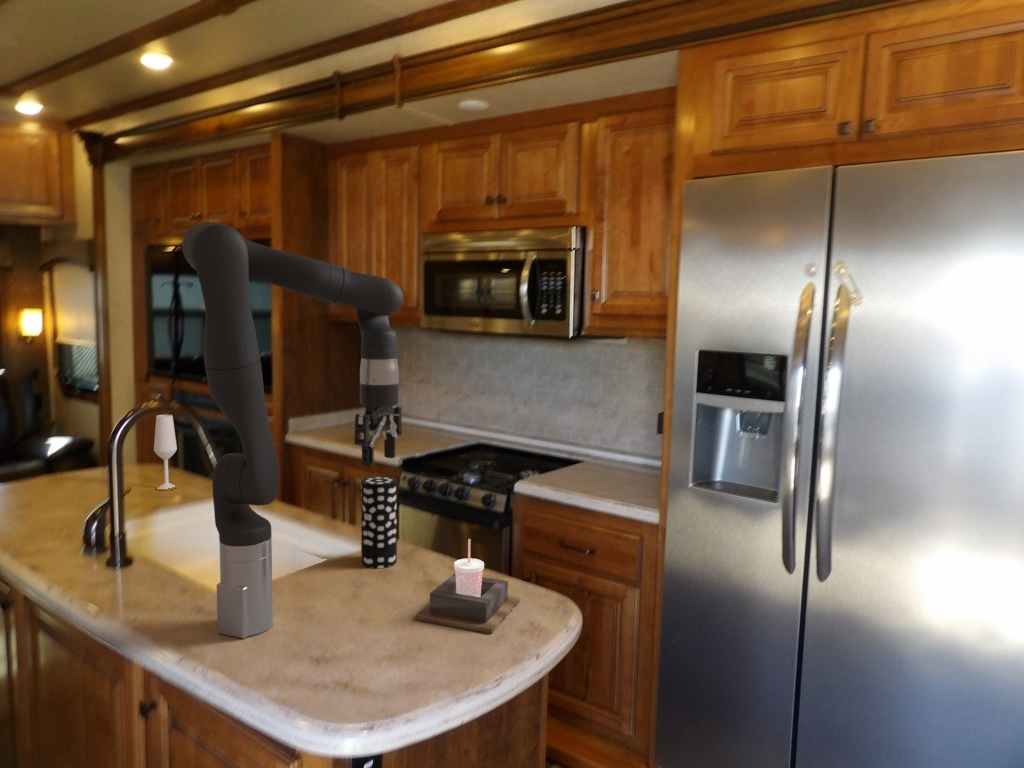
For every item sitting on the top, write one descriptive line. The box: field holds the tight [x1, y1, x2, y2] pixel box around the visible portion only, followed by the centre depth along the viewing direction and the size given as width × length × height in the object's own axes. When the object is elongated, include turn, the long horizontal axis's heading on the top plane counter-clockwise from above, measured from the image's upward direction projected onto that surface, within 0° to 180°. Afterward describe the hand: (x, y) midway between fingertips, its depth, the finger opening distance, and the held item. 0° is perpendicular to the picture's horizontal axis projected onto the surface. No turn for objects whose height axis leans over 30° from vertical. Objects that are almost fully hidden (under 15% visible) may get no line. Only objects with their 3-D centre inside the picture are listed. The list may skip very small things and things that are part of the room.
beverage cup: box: [453, 538, 485, 597], centre depth 147 cm, size 6×6×14 cm
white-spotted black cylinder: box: [360, 475, 398, 569], centre depth 173 cm, size 8×8×20 cm
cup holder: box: [415, 573, 521, 635], centre depth 147 cm, size 16×16×5 cm
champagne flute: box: [153, 414, 178, 489], centre depth 236 cm, size 7×7×24 cm
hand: (379, 461), depth 146 cm, fingers open, 8 cm apart
